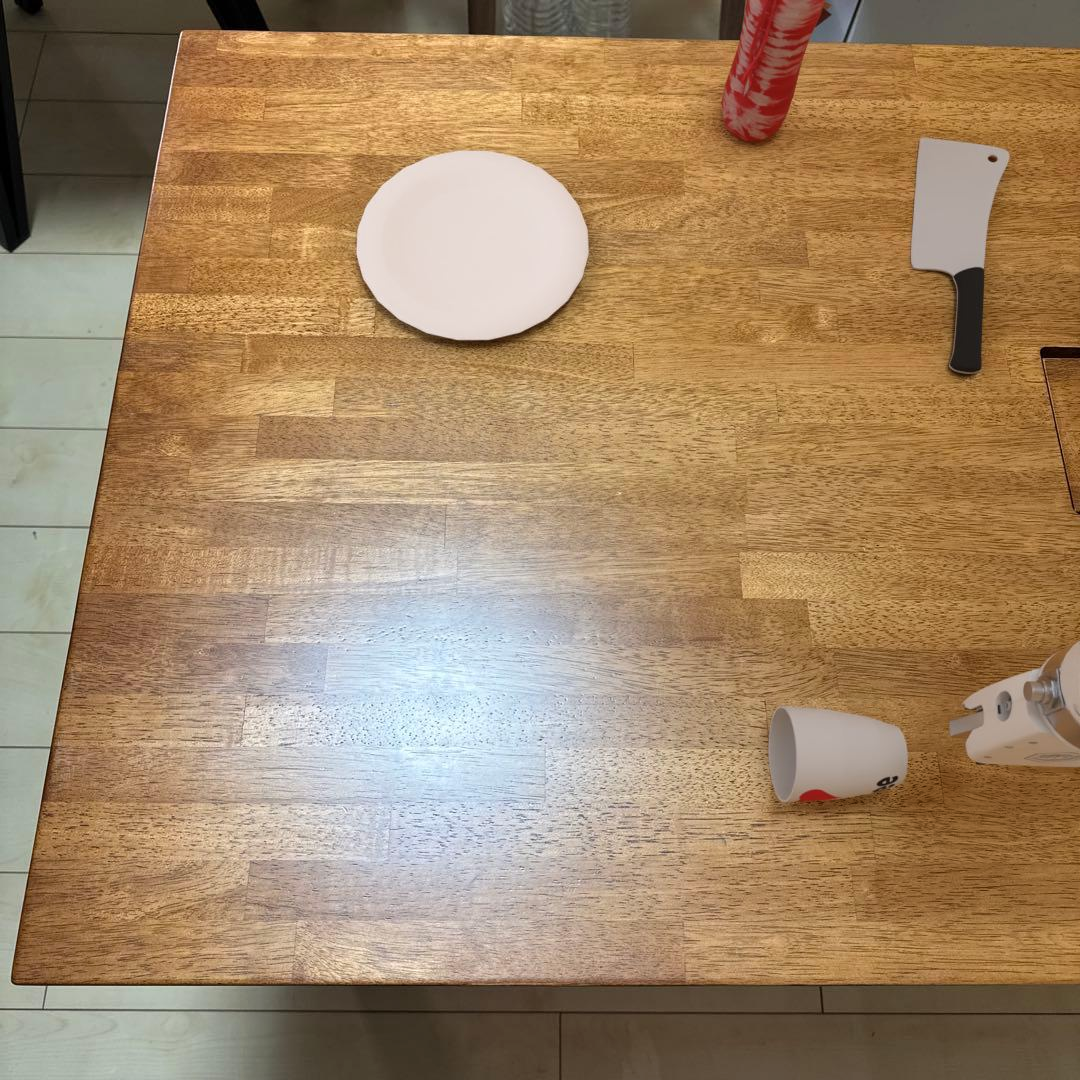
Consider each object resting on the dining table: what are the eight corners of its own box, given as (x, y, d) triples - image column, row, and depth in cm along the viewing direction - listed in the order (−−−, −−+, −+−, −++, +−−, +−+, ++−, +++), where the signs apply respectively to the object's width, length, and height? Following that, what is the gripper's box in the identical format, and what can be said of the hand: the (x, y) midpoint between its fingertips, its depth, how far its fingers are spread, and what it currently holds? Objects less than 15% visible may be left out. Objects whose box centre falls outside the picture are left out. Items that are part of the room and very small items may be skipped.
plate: (369, 361, 105) (367, 352, 103) (347, 171, 114) (345, 160, 113) (607, 333, 107) (608, 324, 106) (567, 148, 116) (568, 137, 115)
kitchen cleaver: (921, 132, 118) (1012, 141, 116) (918, 143, 119) (1007, 152, 118) (896, 358, 106) (996, 372, 105) (892, 367, 108) (990, 381, 106)
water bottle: (758, 70, 122) (817, -137, 98) (813, 104, 120) (886, -98, 97) (697, 128, 118) (744, -73, 95) (753, 165, 116) (814, -31, 93)
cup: (876, 790, 92) (767, 789, 91) (877, 700, 92) (769, 699, 91) (914, 814, 84) (795, 813, 83) (916, 715, 84) (797, 713, 83)
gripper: (997, 748, 66) (897, 789, 83) (1226, 757, 66) (1079, 795, 83) (982, 637, 69) (888, 698, 86) (1201, 645, 69) (1064, 704, 86)
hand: (982, 746), depth 84 cm, fingers closed
